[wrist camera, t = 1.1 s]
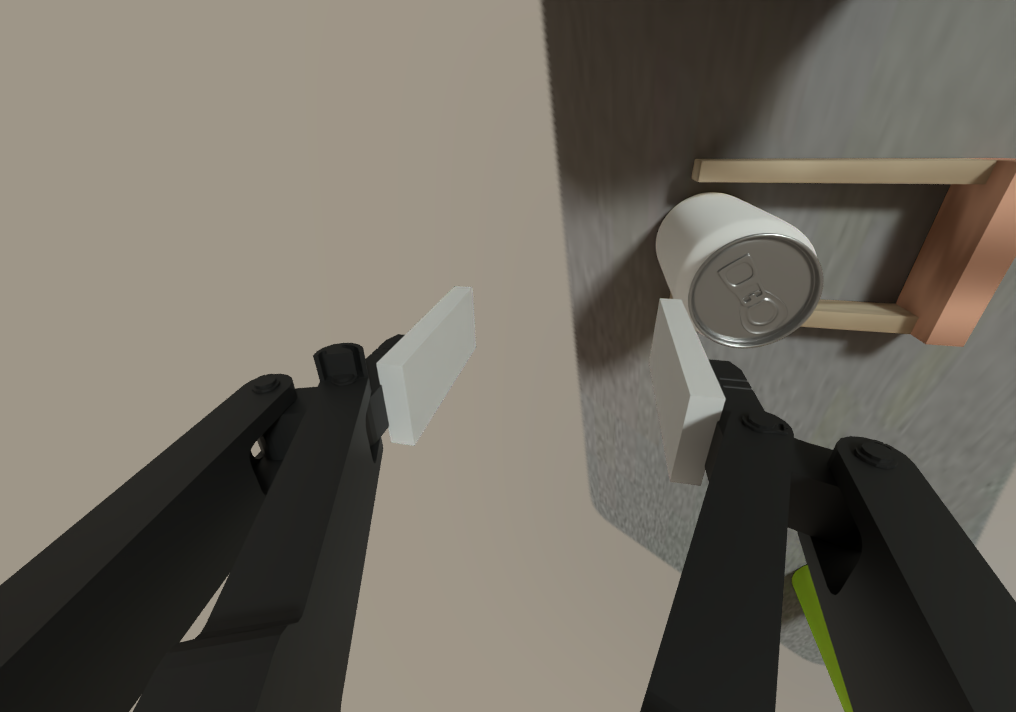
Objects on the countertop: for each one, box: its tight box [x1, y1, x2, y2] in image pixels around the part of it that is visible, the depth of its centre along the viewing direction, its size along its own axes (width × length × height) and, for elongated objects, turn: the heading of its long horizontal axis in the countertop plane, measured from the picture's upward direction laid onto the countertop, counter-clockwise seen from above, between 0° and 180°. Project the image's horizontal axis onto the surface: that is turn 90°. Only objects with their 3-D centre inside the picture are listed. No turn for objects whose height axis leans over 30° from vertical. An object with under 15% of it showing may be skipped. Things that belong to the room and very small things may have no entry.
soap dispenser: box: [792, 565, 853, 712], centre depth 33 cm, size 6×7×20 cm
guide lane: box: [669, 158, 1016, 347], centre depth 26 cm, size 10×17×4 cm, turn 91°
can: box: [656, 192, 823, 348], centre depth 24 cm, size 6×6×12 cm
